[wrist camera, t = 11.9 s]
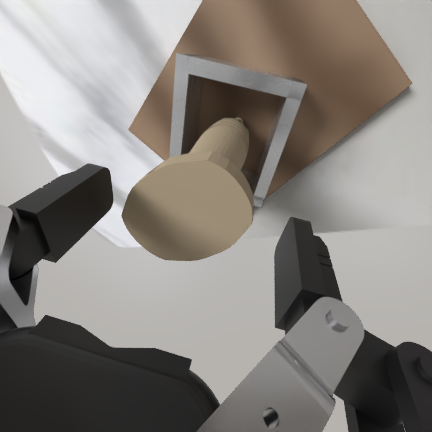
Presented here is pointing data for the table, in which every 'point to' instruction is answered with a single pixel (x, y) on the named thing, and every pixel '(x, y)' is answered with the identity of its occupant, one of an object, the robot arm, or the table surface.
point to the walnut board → (286, 65)
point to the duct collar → (241, 76)
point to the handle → (195, 198)
